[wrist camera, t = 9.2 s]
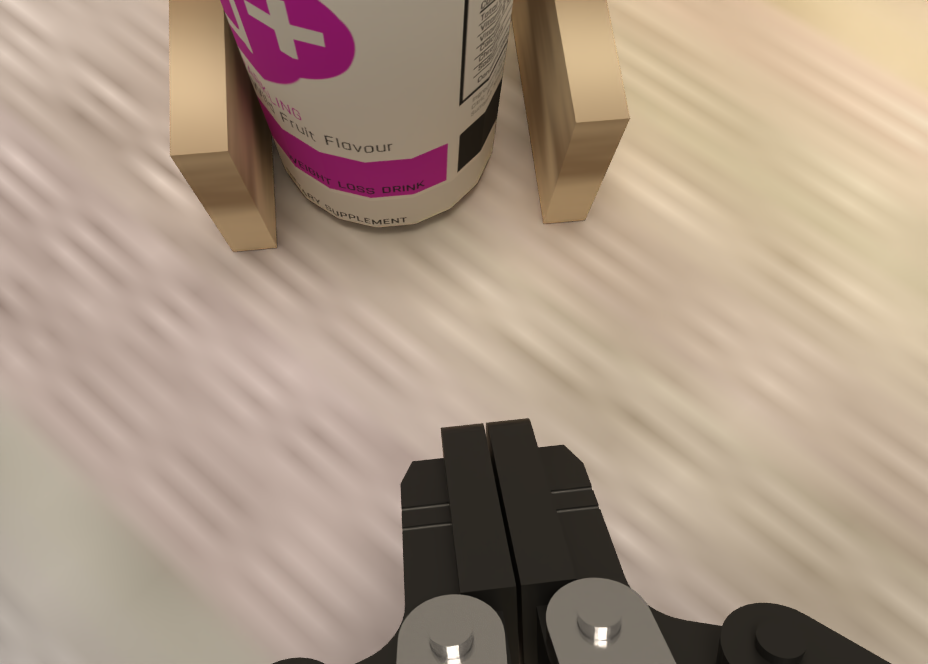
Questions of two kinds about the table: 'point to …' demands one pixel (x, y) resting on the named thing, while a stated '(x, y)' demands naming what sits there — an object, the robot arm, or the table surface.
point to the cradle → (250, 141)
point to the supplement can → (377, 98)
